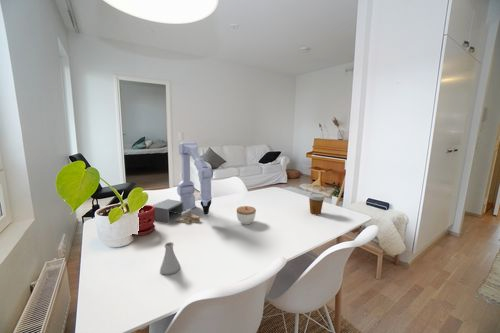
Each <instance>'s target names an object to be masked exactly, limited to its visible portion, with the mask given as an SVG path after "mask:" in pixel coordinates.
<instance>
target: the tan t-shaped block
mask: <svg viewBox="0 0 500 333" xmlns="http://www.w3.org/2000/svg"><path fill="white" fill-rule="evenodd" d="M176 219H177V223H183V224H189V223H191V222H193V223H197V224H198V223H199V222H201V217H200V216H198V215H194V214H192V209H188V210H186V211H184V212H182V214H181V216H180V217H178V218H176Z"/></svg>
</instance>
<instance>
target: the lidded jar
mask: <svg viewBox="0 0 500 333" xmlns="http://www.w3.org/2000/svg"><path fill="white" fill-rule="evenodd" d="M256 211H257V210H256V207H253V206H250V205H249V206H248V205H244V206H238V207H237V208H236V217H237V218H236V219H237V221H239V223H240V224H242V225H250V224H252V223H253V221H255V218H256Z"/></svg>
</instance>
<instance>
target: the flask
mask: <svg viewBox="0 0 500 333" xmlns="http://www.w3.org/2000/svg"><path fill="white" fill-rule="evenodd" d="M174 245H175V244H174V242H171V241H169V242H165V243H164V248H165V250H164V251H165V252H164V256H163V259H162V263H161V265H160V269H159V274H162V275H167V276H168V275H173V274H176V273H177V272H178V271H179V270H180V269H181V264H180V262H179V260H178V257H177V256H176V254H175V252H174Z"/></svg>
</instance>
